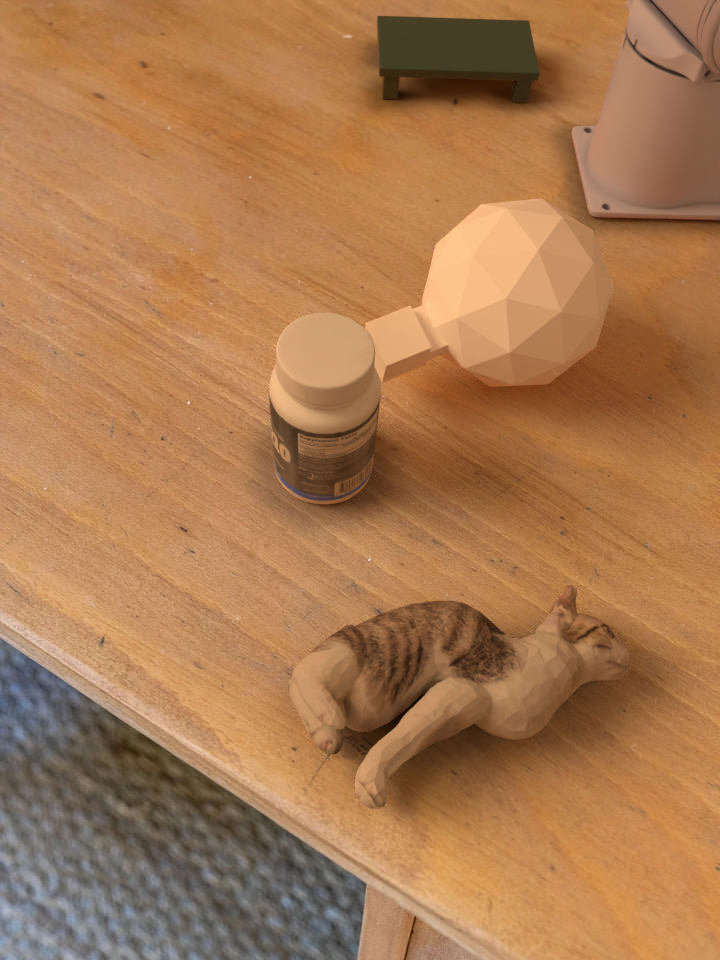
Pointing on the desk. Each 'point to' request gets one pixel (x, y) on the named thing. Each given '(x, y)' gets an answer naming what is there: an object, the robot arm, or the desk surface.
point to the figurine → (446, 679)
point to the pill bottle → (324, 408)
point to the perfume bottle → (503, 299)
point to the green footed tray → (456, 51)
